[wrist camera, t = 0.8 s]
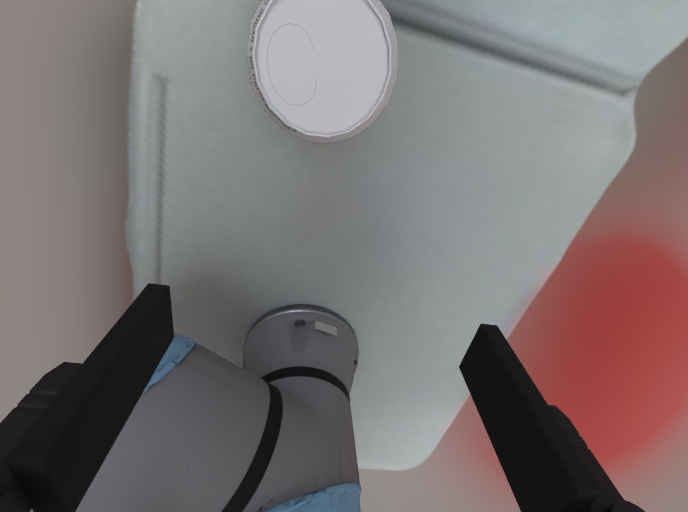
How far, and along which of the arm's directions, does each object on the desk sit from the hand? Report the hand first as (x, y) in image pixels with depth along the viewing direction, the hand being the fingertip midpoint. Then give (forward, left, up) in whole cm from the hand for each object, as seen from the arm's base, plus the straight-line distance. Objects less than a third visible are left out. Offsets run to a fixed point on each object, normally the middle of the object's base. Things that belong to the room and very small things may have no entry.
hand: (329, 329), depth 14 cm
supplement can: (+8, +7, -23) cm, 26 cm away
